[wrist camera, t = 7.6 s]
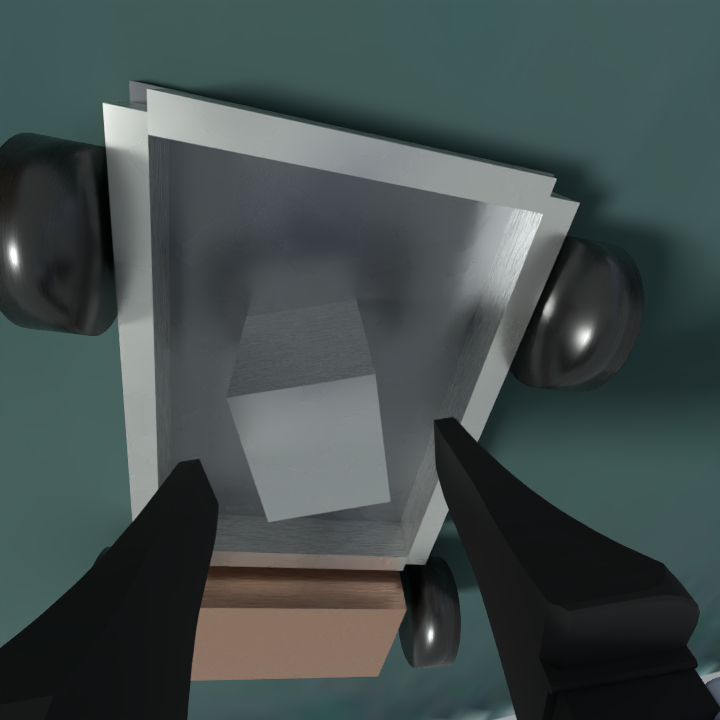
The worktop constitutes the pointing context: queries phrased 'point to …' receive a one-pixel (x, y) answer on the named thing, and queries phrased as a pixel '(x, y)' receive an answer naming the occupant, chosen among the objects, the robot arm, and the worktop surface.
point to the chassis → (294, 291)
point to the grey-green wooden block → (309, 411)
